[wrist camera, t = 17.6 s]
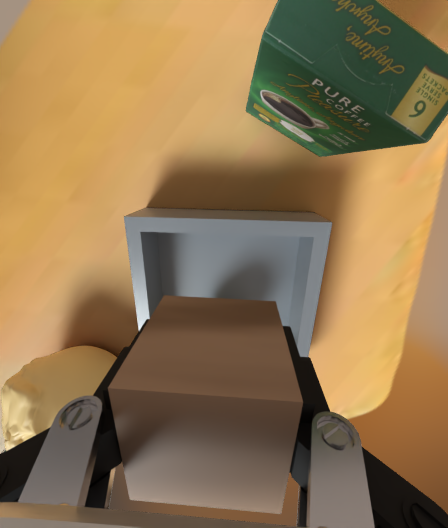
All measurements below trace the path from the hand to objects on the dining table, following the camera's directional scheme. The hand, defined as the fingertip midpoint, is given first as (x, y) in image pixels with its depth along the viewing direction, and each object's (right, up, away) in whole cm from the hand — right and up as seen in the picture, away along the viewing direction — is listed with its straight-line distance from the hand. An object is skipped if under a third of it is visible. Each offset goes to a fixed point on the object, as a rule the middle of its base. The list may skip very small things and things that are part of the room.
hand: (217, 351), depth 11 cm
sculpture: (-17, -10, +21) cm, 29 cm away
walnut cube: (0, 0, 0) cm, 1 cm away
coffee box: (+6, +16, +10) cm, 20 cm away
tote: (+1, +1, +16) cm, 16 cm away
